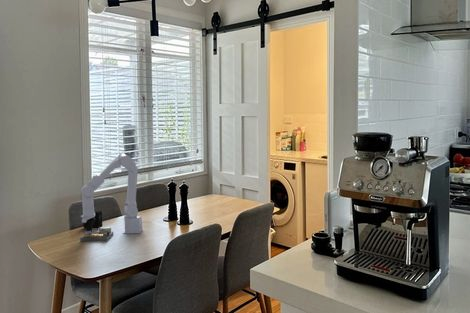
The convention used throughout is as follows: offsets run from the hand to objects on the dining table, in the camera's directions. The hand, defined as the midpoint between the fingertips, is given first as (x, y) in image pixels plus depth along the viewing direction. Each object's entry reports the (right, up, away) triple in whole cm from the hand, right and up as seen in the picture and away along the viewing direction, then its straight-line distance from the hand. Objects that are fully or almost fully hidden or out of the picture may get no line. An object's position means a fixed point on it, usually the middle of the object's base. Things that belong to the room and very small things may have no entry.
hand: (89, 232), depth 220 cm
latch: (0, -1, -3) cm, 4 cm away
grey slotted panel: (+5, -3, -1) cm, 6 cm away
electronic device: (-5, -1, +19) cm, 20 cm away
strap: (+5, -1, -5) cm, 7 cm away
